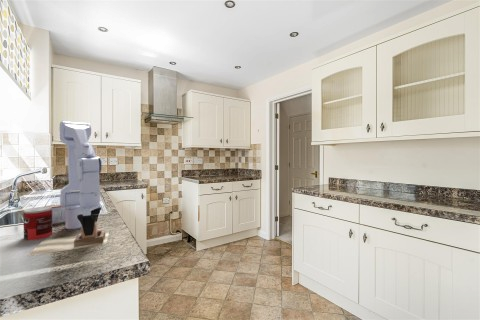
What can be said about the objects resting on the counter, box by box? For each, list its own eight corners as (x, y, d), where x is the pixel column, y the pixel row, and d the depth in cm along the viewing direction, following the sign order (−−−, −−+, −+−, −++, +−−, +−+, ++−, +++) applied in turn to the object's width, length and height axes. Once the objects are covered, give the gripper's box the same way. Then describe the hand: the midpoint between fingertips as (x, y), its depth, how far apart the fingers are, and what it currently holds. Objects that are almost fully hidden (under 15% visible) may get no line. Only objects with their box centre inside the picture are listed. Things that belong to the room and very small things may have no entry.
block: (84, 239, 79) (83, 222, 79) (97, 237, 81) (97, 221, 81) (81, 243, 76) (81, 225, 76) (95, 241, 78) (95, 224, 77)
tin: (74, 219, 108) (73, 202, 108) (76, 220, 106) (75, 203, 106) (31, 227, 97) (31, 208, 96) (33, 229, 95) (32, 209, 94)
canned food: (30, 236, 86) (29, 207, 85) (56, 234, 88) (55, 205, 88) (19, 244, 78) (18, 212, 78) (47, 241, 81) (46, 210, 81)
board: (43, 243, 79) (43, 234, 79) (109, 234, 88) (109, 226, 88) (27, 259, 67) (26, 249, 67) (106, 247, 75) (105, 238, 75)
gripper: (80, 190, 83) (80, 227, 83) (70, 196, 70) (71, 240, 70) (102, 189, 86) (103, 224, 86) (97, 194, 73) (98, 237, 73)
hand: (90, 231), depth 79 cm, fingers open, 7 cm apart
